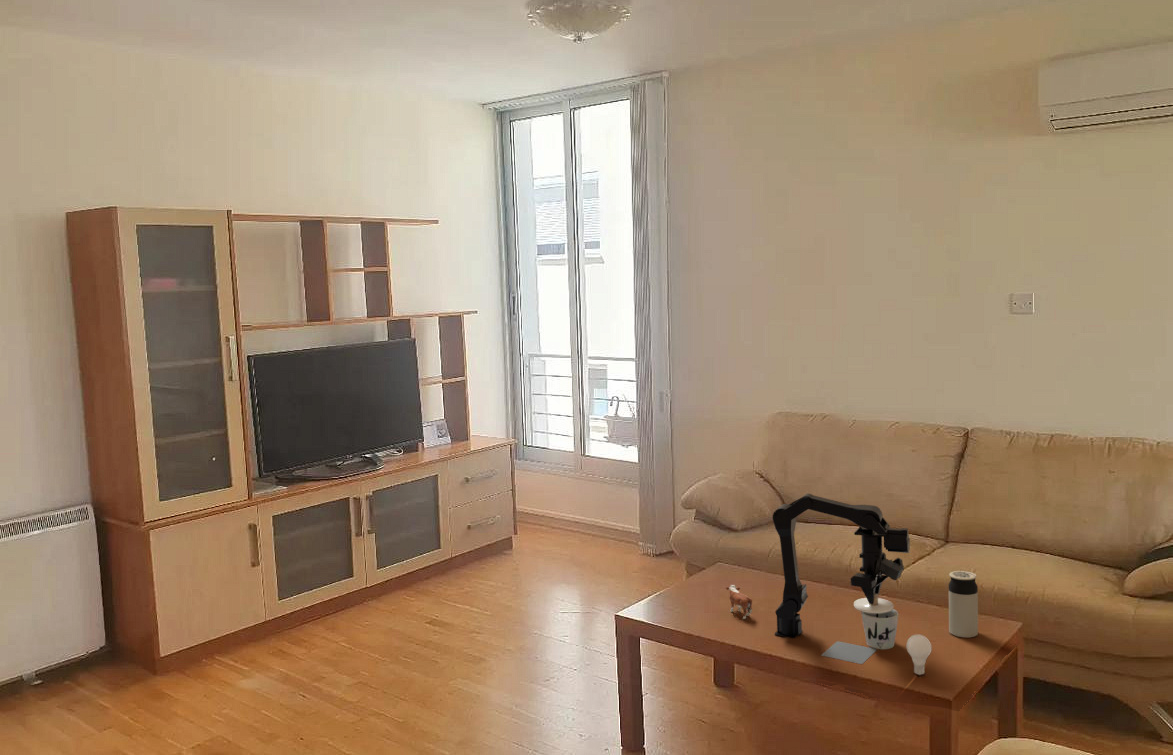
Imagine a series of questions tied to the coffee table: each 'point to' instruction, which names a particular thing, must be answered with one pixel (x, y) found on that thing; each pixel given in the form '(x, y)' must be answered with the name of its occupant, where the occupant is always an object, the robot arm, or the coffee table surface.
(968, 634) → the travel mug
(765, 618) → the coffee table surface
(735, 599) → the bull figurine
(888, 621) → the mug
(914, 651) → the lightbulb
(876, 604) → the lid
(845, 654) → the mat
